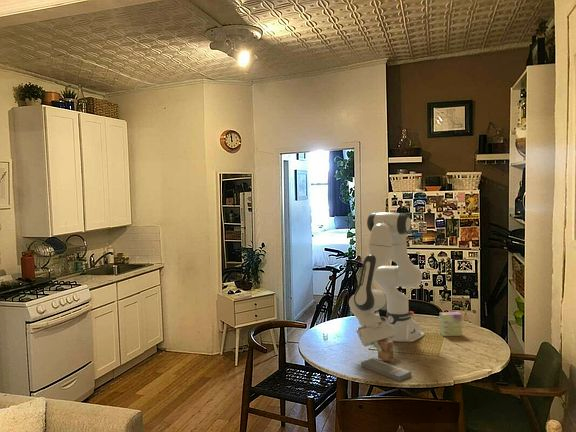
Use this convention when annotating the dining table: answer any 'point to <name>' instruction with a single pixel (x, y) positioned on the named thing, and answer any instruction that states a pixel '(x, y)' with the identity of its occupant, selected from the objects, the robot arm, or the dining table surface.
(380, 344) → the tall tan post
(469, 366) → the dining table surface
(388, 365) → the board
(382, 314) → the milk frother
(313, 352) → the dining table surface
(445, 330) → the box
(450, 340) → the dining table surface
